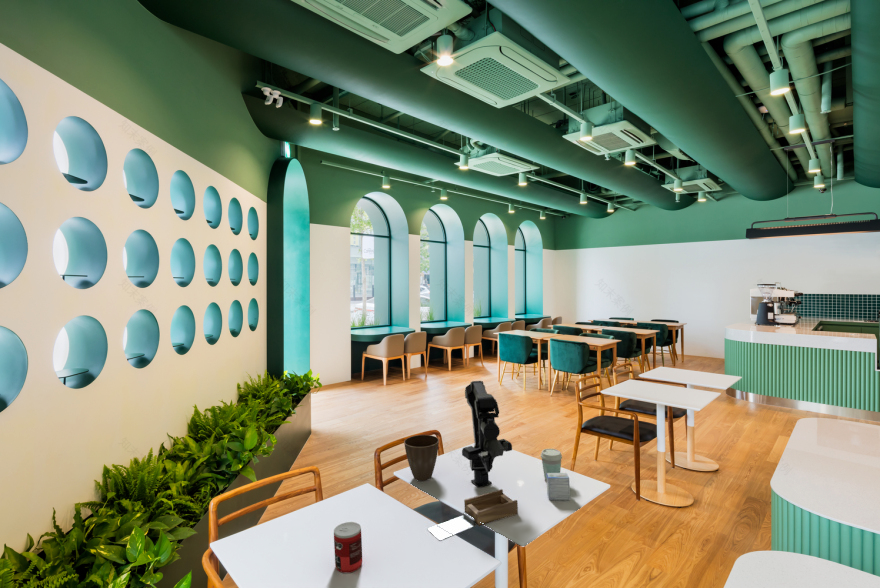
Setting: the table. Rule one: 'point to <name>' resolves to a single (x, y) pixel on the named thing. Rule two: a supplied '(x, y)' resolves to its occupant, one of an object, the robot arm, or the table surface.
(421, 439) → the plant pot
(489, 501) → the walnut box
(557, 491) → the medicine box
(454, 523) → the cover plate
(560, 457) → the coffee cup
